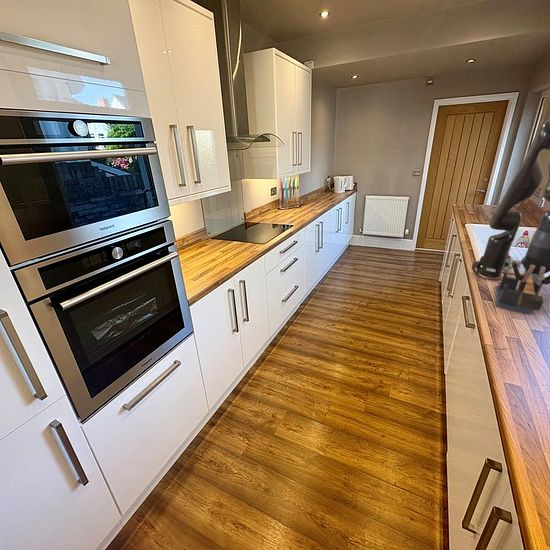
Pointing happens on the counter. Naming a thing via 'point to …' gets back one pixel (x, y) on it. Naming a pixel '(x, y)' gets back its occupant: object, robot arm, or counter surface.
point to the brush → (530, 297)
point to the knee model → (508, 263)
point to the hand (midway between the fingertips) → (526, 291)
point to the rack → (511, 294)
